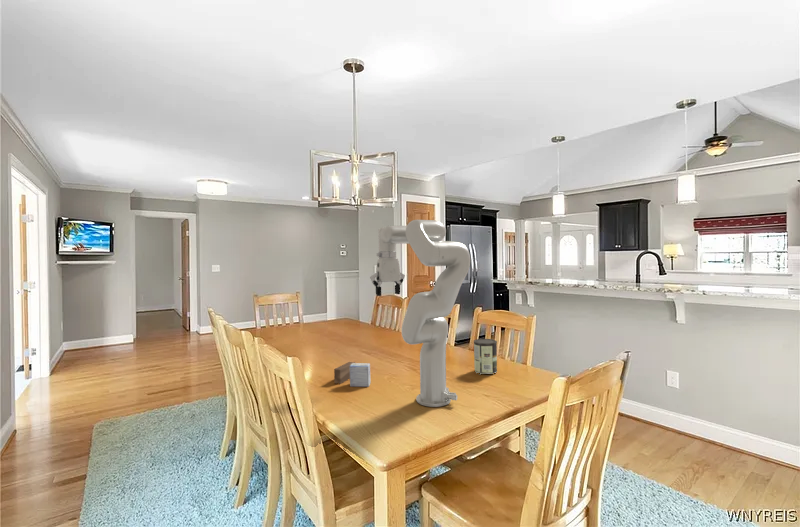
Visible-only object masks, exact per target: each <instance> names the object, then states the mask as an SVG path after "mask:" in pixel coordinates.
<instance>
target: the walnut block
mask: <svg viewBox="0 0 800 527" xmlns="http://www.w3.org/2000/svg"><path fill="white" fill-rule="evenodd" d="M352 363H356V362H355V361H348V362H346V363H344V364H342V365H339V366H338V367H336V368H334V370H333V372H334V374H333V376H334V384H337V383H339V385H342V384H343V383H344V382H347V381H348V379H349V380H350V365H351V364H352Z"/></svg>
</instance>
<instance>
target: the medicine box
mask: <svg viewBox="0 0 800 527" xmlns="http://www.w3.org/2000/svg"><path fill="white" fill-rule="evenodd" d="M371 382H372V381H371V363H369V362H368V363H367V362H366V363H365V362H364V363H363V362H361V363H360V362H358V363H357V362H355V363H352V364H351V365H350V379H349V384H350V385H349V386H350V387H367V388H368V387H370V385H371Z"/></svg>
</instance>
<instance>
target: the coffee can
mask: <svg viewBox="0 0 800 527" xmlns="http://www.w3.org/2000/svg"><path fill="white" fill-rule="evenodd" d="M497 342H498V341H497V340H496V339H491V338H477V339H474V340H473V350H474V351H473V356H474V358H473V359H474V367H473V368H474V370H475V372H476V373H475V372H474V373H475V374H477V373H480V374H479V375H481V374H493V373H496V372H497V373H498V357H497V355H498V354H497V349H498V348H497V346H498V345H497ZM497 373H496V374H497ZM493 375H494V374H493Z"/></svg>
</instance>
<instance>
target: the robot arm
mask: <svg viewBox="0 0 800 527" xmlns="http://www.w3.org/2000/svg"><path fill="white" fill-rule="evenodd" d="M446 233H447V229H446V227H445V225H444V224H443V223H442V222H440V221H439V220H433V219H432V220H431V219H413V220H411V221H410V222H408V224H407V225H387V226H382V227H379V229H378V252H377V253H376V257H378V258H377V262H376V271H375V273H374V274H371V276H369V279H370V281H371V283H372V284H373V285H374V287H375V295H376V296H378V297H381V296H382V286H381V285H382V283H392V282H394V284H395V285H394V294H395V295H400V294H401V285H402V283H403V282H404V280H405V277H406V275H405V274H404V273H402V272H401V269H400V267H401V266H400V261H399V259H398V258H397V244H403V245H404V244H407V245H409V246H410V247H411V249H412V251H413V252H414V253H415V255H416V258H418V260H419V262H420V263H421V264H422V265H424V266H425V267H446V268H444V270H443V271H442V272H441V273H440V274H439V275H438V277H437V279H436V280H435V281H436V282H435V284H434V286H433V289H432V290H430V291H422V292H417V293H415V294H414V295H413V296H412V297H411V298H410V300H409V302H408V305H407V308H406V312H405V315H404V318H403V321H402V326H401V337H402V339H403V341H404V342H405V343H406V344H408V345H419V344H422V346H421V348H420V351H419V375H420V376H419V377H420V378H419V381H420V382H419V384H420V385H419V387H420V388H419V389H420V394H419V393H418V395H417V396H416V397H415V398H416V402H417V404H419V405H421V406H424V407H431V408H439V407H444V406H446V405H449V404H450V403H451V401H457V400H458V394H457V392H453V391H452V392H451V391H450V390H449V387H447V340H448V335H449V324H448V320H446V318H445V317H449V316H450V314H451V313H452V310H453V308H454V306H455V302H456V300H457V297H458V294H459V292H460V290H461V286H462V285H463V282H465V281H464V280H465V279H466V276H467V275H468V273H469V269H470V266H471V255H470V251H469V249H468V247H467V246H466V245H465V244H463V243H462V242H459V241H453V240H445V241H443V239H444V238H445V236H446Z"/></svg>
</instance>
